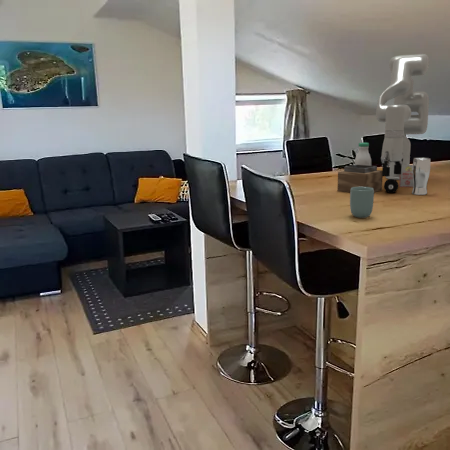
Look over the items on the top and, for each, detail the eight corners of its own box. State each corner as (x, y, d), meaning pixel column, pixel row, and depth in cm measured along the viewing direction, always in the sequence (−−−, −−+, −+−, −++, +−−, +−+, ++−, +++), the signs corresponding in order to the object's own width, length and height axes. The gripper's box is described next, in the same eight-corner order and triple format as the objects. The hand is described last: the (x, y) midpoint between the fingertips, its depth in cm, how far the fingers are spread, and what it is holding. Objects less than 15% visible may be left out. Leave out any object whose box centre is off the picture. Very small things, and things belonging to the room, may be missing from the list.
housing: (354, 186, 226) (355, 163, 224) (381, 190, 216) (383, 166, 213) (337, 190, 217) (338, 167, 214) (364, 194, 207) (365, 169, 204)
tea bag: (399, 185, 226) (400, 164, 223) (414, 186, 223) (416, 164, 221) (399, 187, 222) (400, 165, 220) (414, 187, 220) (416, 165, 218)
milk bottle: (371, 186, 226) (373, 143, 221) (354, 186, 227) (355, 143, 222) (369, 183, 233) (371, 142, 228) (353, 183, 235) (354, 142, 230)
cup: (346, 214, 172) (347, 187, 170) (367, 213, 173) (368, 186, 170) (354, 219, 165) (355, 191, 162) (376, 218, 165) (377, 190, 163)
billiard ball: (383, 193, 208) (383, 179, 207) (383, 191, 214) (384, 177, 212) (397, 194, 206) (398, 180, 205) (398, 191, 212) (399, 178, 210)
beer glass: (427, 192, 207) (430, 157, 204) (428, 195, 201) (431, 159, 197) (410, 192, 209) (412, 157, 206) (410, 195, 203) (413, 159, 199)
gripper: (396, 133, 212) (393, 172, 216) (375, 135, 201) (373, 176, 204) (412, 134, 206) (409, 174, 210) (391, 135, 195) (389, 177, 199)
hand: (391, 175), depth 207 cm, fingers open, 9 cm apart
